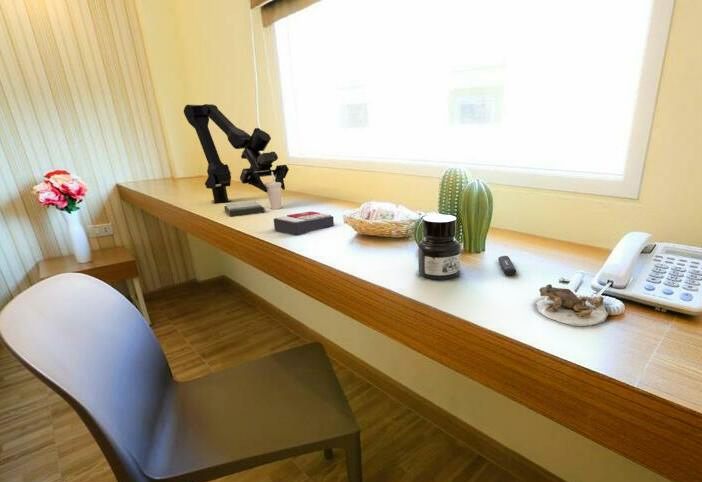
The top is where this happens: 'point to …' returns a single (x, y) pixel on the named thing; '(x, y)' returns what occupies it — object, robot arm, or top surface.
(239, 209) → the scale
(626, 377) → the top surface
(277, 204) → the smoothie
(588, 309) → the frog figurine
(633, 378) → the top surface
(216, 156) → the robot arm
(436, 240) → the ink bottle
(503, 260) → the usb stick
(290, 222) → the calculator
